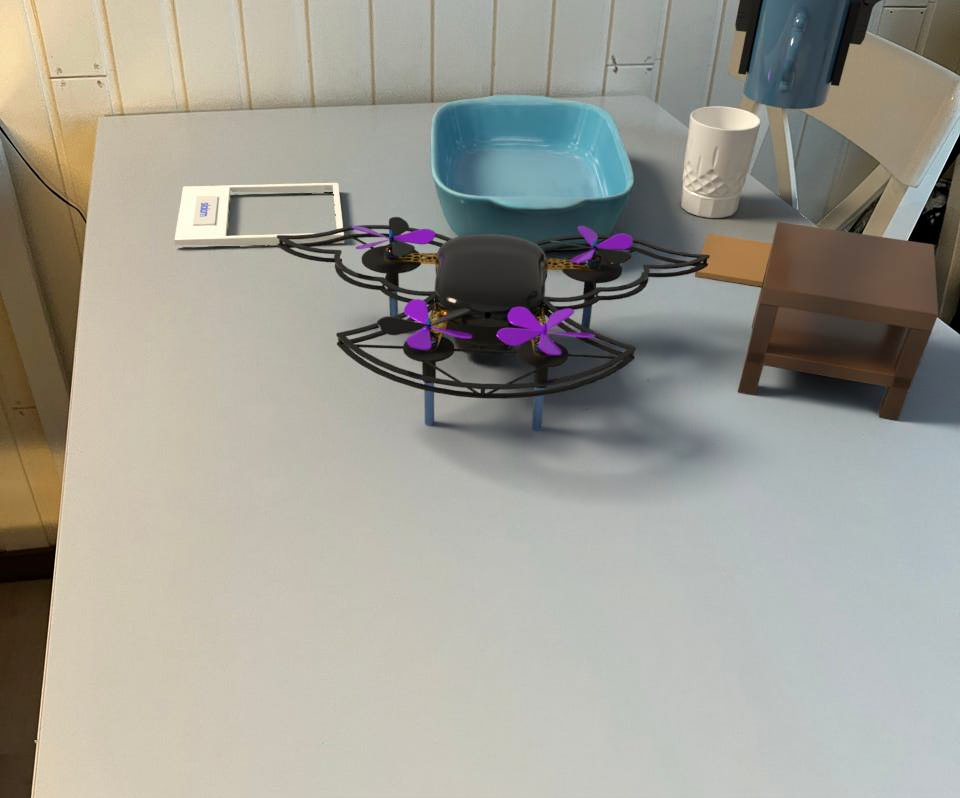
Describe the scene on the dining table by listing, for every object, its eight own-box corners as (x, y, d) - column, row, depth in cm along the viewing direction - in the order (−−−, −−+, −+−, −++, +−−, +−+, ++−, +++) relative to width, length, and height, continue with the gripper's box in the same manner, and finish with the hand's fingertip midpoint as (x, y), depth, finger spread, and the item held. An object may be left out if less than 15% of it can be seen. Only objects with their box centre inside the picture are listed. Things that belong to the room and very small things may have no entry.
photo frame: (183, 184, 115) (337, 181, 118) (184, 194, 116) (338, 190, 118) (174, 238, 105) (343, 233, 107) (176, 248, 106) (344, 243, 108)
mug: (828, 88, 98) (859, -32, 91) (822, 124, 91) (855, -4, 83) (747, 78, 99) (771, -40, 92) (735, 112, 92) (760, -14, 85)
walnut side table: (897, 345, 96) (934, 244, 89) (897, 420, 87) (938, 314, 80) (752, 321, 99) (777, 221, 92) (737, 392, 89) (763, 286, 82)
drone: (709, 220, 92) (755, 378, 72) (690, 317, 99) (728, 485, 79) (281, 201, 92) (212, 352, 73) (292, 299, 99) (232, 462, 80)
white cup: (729, 193, 122) (747, 105, 115) (750, 220, 116) (770, 129, 109) (667, 195, 121) (682, 106, 114) (685, 221, 115) (702, 130, 108)
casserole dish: (431, 146, 130) (431, 86, 125) (600, 149, 131) (606, 90, 126) (429, 272, 104) (429, 203, 99) (639, 275, 105) (649, 207, 100)
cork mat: (795, 252, 110) (797, 247, 110) (789, 291, 104) (790, 285, 103) (706, 238, 112) (707, 233, 112) (694, 276, 106) (695, 270, 105)
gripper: (724, -247, 78) (675, 73, 94) (1003, -229, 74) (901, 101, 90) (735, -253, 83) (686, 52, 99) (996, -236, 79) (901, 77, 95)
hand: (789, 75), depth 95 cm, fingers closed on mug, 8 cm apart
